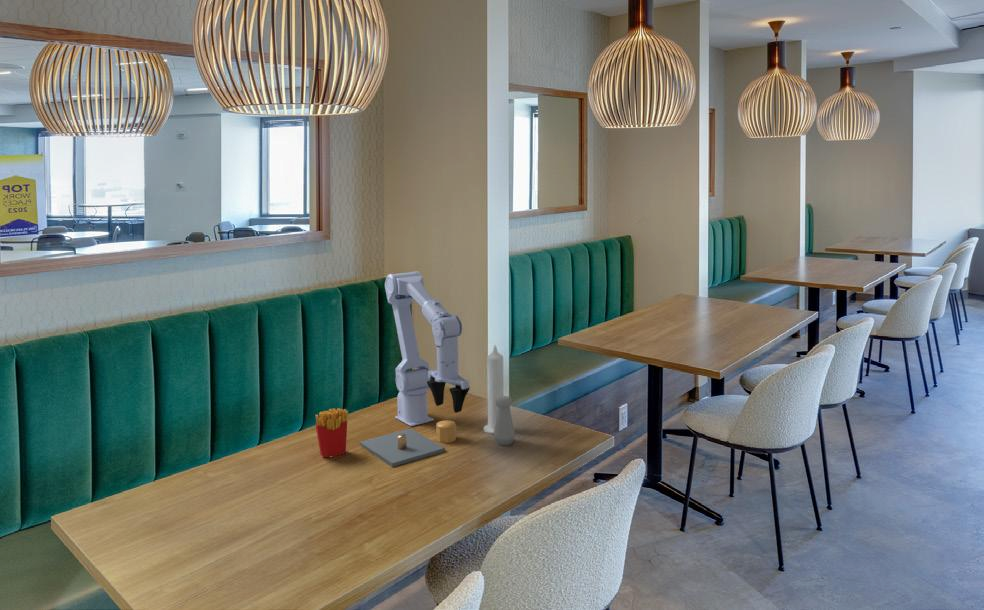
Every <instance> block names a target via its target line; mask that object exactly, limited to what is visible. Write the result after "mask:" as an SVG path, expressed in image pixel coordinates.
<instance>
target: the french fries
mask: <svg viewBox="0 0 984 610" xmlns="http://www.w3.org/2000/svg"><path fill="white" fill-rule="evenodd" d="M318 414H319V415H318ZM318 414H315V420H316V423H315V424H314V425H315V430H316V437H317V441H318V448H319V453H320V456H321V455H322V456H323V457H330V456H335V457H337V456H336V455H340V456H342V455H341V454H343V453H345V452H347V451H346V450H347V436H348V435H347V434H348V416H349V411H348V410H347V409H346V408H344V409H343V408H339V407H338V408H337V409H336V407H335V408H329V409H328V410H324V411H320V412H319V413H318ZM345 454H346V453H345ZM343 455H344V454H343ZM322 456H321V457H322ZM330 458H331V457H330Z"/></svg>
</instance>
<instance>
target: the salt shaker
mask: <svg viewBox="0 0 984 610" xmlns="http://www.w3.org/2000/svg"><path fill="white" fill-rule="evenodd" d="M496 405H497V406H498V412H497V418H496V424H495V429H494V434H493V438H494V440H495V443H496V444H497V445H499V446H509V445H511V444H513V441H514V439H515V436H516V435H515V434H516V433H515V428H514V425H513V419H512V414H511V413H512V412H511V406H512V405H513V400H512V398H511V397H510V396H507V395H504V396H500V397H498V398H497V399H496Z"/></svg>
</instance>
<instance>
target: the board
mask: <svg viewBox="0 0 984 610" xmlns="http://www.w3.org/2000/svg"><path fill="white" fill-rule="evenodd" d="M399 434H406V439H407V448H406V449H404V450H399V449H398V442H397V435H399ZM358 443H359V446H360V445H361V446H363V447H364V448H365V450H366V449H367V450H368V452H369V451H370V452H371V453H370V452H369V453H370V454H372V453H373V454H374V456H375V455H376V457H377V458H378V457H379V458H378V459H379V460H381V461H383V462H384V463H386V464H387V465H389V466H390V467H392V468H393V466H394V467H396V466H400V464H401V465H404V464H407V462H408V463H410V462H414V461H418V460H421V459H424V458H428V457H431V456H434V455H437V454H441V453H445V452H446V447H444V446H443V445H441V444H439V443H437V442H435V441H434V440H432V439H430V438H428V437H426V436H425V435H424V434H421V433H419V432H418V431H415V430H414V429H413V428H408V429H407V428H406V429H403V430H399V431H396V432H391V433H388V434H384V435H380V436H376V437H373V438H368V439H364V440H362V441H359V442H358ZM361 446H360V447H361ZM363 447H362V448H363ZM364 448H363V449H364ZM367 450H366V451H367ZM373 454H372V455H373ZM403 463H404V464H403Z"/></svg>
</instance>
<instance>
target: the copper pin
mask: <svg viewBox="0 0 984 610" xmlns="http://www.w3.org/2000/svg"><path fill="white" fill-rule="evenodd" d="M397 442H398V449H399V450H404V449H406V448H407V439H406V434H399V435H397Z"/></svg>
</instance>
